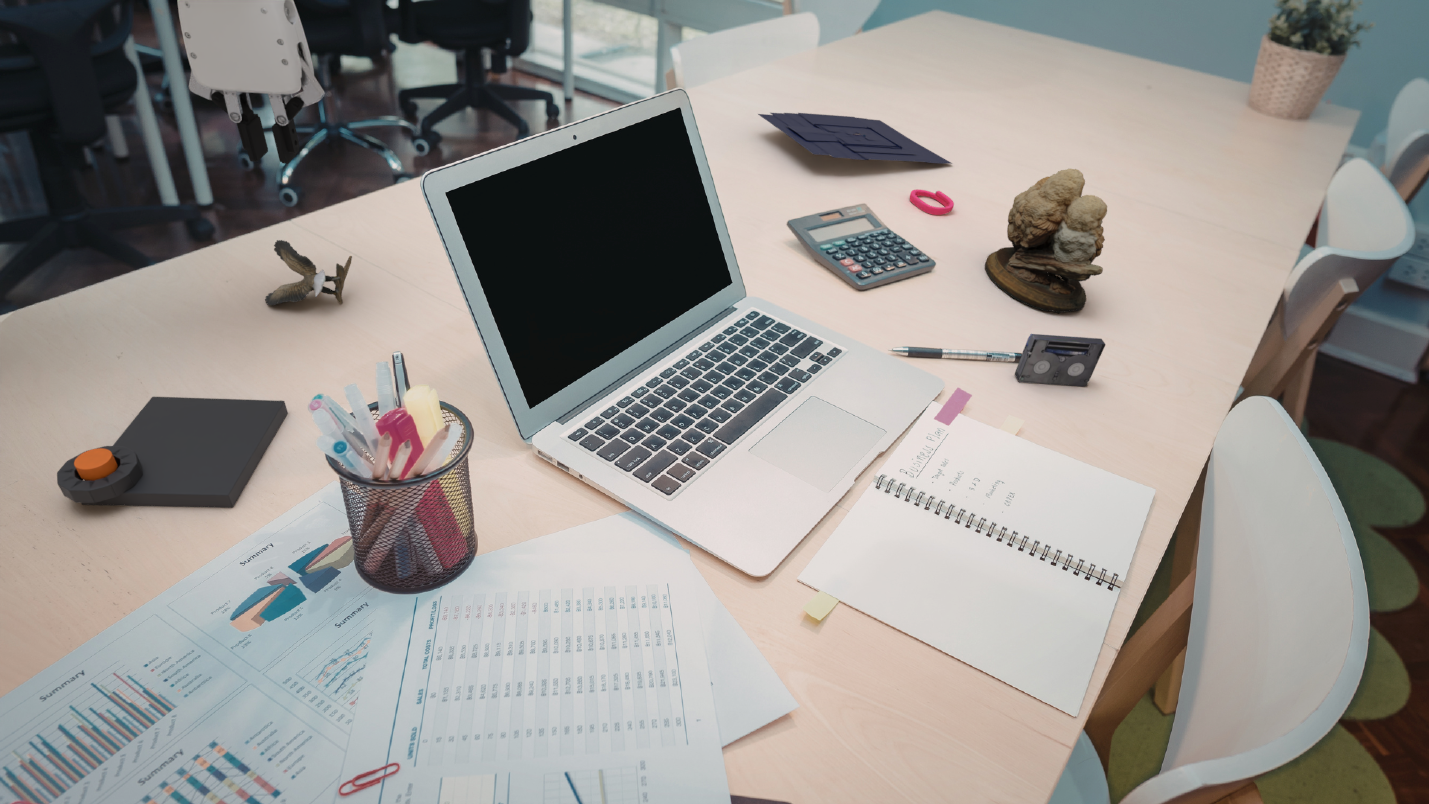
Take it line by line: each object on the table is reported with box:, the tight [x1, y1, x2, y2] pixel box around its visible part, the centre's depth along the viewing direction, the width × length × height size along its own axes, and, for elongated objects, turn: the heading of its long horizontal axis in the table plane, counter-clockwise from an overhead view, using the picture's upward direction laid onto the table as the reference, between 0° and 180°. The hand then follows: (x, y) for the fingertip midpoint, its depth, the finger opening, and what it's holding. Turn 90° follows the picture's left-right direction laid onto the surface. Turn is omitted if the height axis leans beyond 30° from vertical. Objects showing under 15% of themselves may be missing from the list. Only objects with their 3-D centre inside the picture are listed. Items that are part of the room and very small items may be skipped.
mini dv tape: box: [1014, 333, 1106, 388], centre depth 93 cm, size 8×2×6 cm, turn 90°
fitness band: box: [909, 189, 955, 216], centre depth 133 cm, size 8×6×2 cm
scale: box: [56, 396, 289, 509], centre depth 72 cm, size 13×14×3 cm
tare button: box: [74, 447, 117, 481], centre depth 67 cm, size 3×3×1 cm
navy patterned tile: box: [757, 112, 954, 165], centre depth 151 cm, size 24×30×4 cm
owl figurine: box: [984, 168, 1108, 314], centre depth 109 cm, size 18×12×17 cm, turn 19°
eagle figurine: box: [264, 239, 353, 306], centre depth 94 cm, size 8×7×9 cm
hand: (274, 156), depth 85 cm, fingers closed
